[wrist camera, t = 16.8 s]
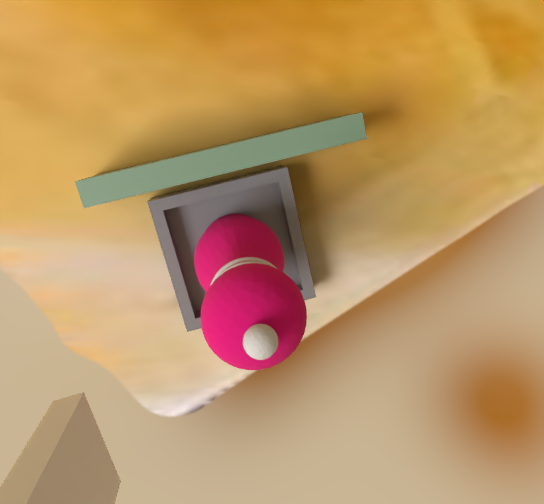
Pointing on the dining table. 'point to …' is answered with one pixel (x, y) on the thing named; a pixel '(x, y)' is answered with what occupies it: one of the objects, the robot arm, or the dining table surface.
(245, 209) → the tray
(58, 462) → the robot arm
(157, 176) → the board
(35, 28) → the dining table surface
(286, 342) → the pepper mill
